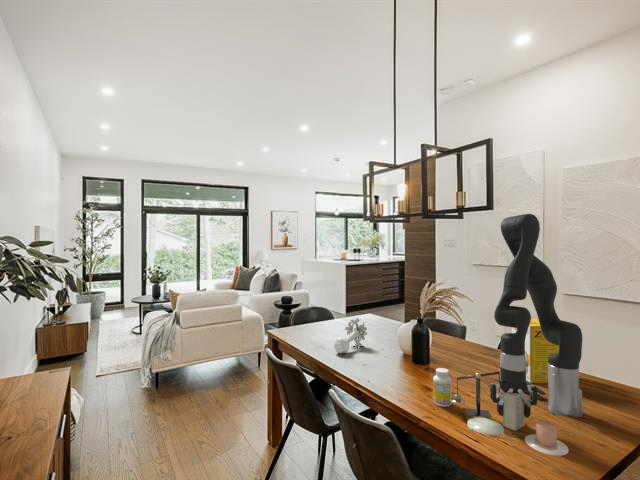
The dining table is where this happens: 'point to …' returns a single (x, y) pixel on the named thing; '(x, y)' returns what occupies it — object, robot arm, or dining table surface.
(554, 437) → the peach domed cylinder
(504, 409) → the skincare box
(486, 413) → the balance
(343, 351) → the flower vase
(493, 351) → the dining table surface
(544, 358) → the packaging box
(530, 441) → the dish near
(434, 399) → the supplement bottle
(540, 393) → the can opener
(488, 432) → the pale white round dome
